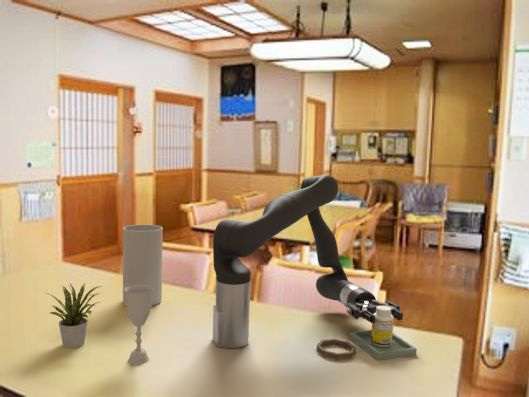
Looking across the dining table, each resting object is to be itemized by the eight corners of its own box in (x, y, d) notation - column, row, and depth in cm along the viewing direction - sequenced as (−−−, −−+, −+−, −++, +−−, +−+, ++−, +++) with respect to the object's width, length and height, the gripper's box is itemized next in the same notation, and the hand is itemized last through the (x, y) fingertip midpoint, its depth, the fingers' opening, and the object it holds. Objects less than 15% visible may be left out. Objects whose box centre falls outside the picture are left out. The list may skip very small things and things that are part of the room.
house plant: (118, 339, 133) (118, 280, 131) (83, 359, 120) (83, 294, 118) (74, 330, 138) (74, 273, 136) (37, 349, 125) (36, 287, 123)
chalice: (145, 367, 117) (145, 294, 115) (118, 364, 118) (118, 291, 116) (157, 355, 124) (158, 285, 122) (132, 351, 126) (133, 283, 123)
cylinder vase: (169, 300, 166) (170, 227, 163) (141, 310, 156) (142, 232, 153) (143, 293, 173) (143, 223, 170) (114, 302, 162) (114, 227, 159)
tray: (377, 360, 126) (378, 353, 126) (350, 338, 140) (350, 332, 140) (416, 355, 130) (416, 348, 130) (385, 334, 144) (385, 328, 143)
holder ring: (327, 361, 124) (328, 355, 124) (311, 346, 133) (312, 340, 133) (361, 357, 127) (361, 351, 127) (343, 342, 136) (343, 337, 136)
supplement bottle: (376, 338, 139) (379, 303, 138) (395, 344, 135) (397, 307, 134) (367, 343, 135) (369, 307, 133) (385, 350, 131) (388, 312, 130)
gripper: (336, 288, 145) (365, 306, 129) (378, 285, 149) (411, 302, 134) (335, 313, 145) (363, 334, 130) (377, 309, 150) (409, 329, 135)
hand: (387, 318), depth 132 cm, fingers open, 8 cm apart
